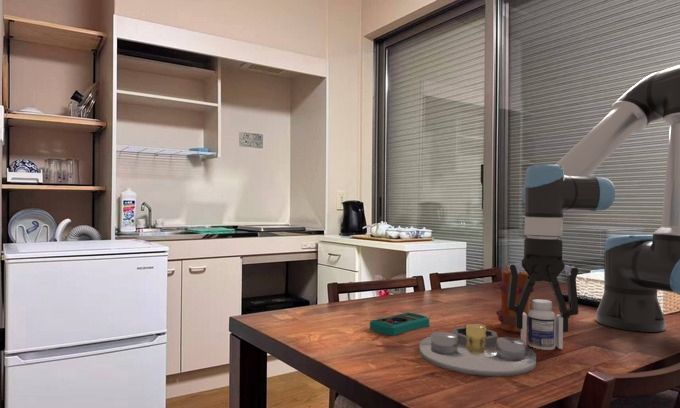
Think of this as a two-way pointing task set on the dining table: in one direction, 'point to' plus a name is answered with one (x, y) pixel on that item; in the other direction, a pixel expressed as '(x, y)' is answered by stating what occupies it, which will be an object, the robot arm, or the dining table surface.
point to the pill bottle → (542, 325)
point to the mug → (507, 315)
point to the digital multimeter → (399, 323)
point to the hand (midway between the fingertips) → (541, 345)
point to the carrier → (477, 352)
